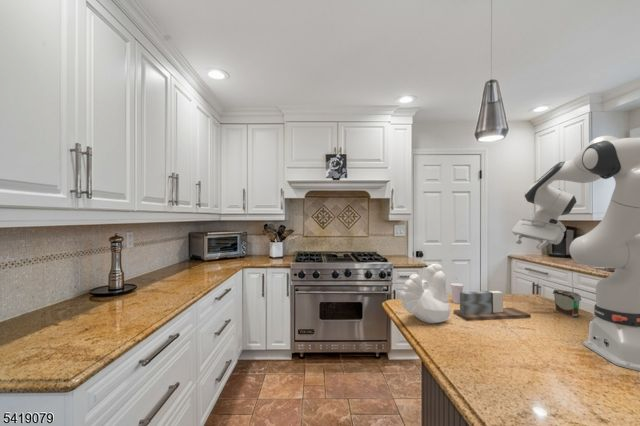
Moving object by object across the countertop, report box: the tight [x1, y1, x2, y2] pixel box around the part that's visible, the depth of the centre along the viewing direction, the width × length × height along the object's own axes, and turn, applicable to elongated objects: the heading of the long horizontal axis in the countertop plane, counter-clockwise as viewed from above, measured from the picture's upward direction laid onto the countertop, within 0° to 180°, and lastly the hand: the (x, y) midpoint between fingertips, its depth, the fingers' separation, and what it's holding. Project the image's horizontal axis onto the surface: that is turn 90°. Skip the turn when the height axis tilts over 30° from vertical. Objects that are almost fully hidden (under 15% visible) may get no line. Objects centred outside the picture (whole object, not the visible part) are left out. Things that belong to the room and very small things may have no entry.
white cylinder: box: [488, 290, 504, 313], centre depth 130 cm, size 5×3×9 cm, turn 97°
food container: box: [552, 289, 582, 319], centre depth 131 cm, size 12×6×10 cm, turn 179°
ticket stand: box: [453, 290, 532, 322], centre depth 130 cm, size 31×10×11 cm, turn 97°
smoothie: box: [450, 275, 464, 305], centre depth 149 cm, size 6×6×14 cm
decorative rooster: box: [400, 263, 451, 324], centre depth 124 cm, size 25×16×25 cm, turn 105°
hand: (527, 246), depth 132 cm, fingers open, 8 cm apart
